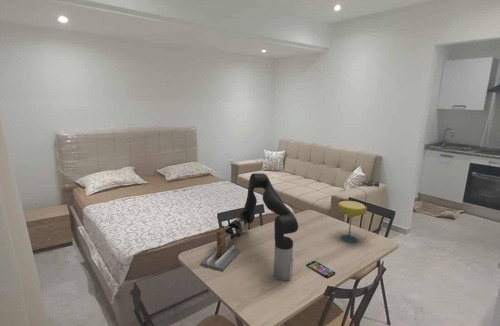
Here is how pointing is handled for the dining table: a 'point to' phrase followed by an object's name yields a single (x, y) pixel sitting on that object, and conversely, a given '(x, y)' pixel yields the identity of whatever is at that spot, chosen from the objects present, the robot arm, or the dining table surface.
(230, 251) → the track plinth
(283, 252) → the robot arm
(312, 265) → the smartphone
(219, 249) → the brown wooden block
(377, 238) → the dining table surface
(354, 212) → the cocktail glass
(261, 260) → the dining table surface
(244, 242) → the dining table surface
